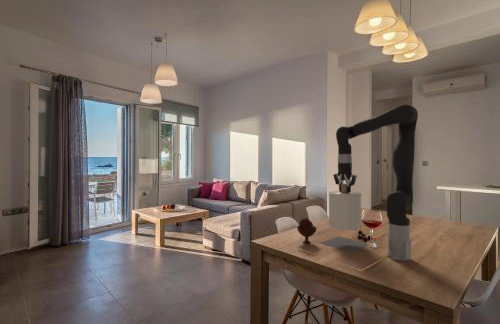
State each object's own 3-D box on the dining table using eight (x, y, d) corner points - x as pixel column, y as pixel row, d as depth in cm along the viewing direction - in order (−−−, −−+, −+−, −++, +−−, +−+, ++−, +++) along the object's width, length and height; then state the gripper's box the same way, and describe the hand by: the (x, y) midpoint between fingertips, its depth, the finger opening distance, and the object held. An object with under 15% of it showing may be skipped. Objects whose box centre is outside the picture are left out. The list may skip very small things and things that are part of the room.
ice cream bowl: (317, 247, 152) (317, 220, 151) (296, 246, 154) (296, 219, 154) (316, 241, 162) (316, 216, 162) (297, 240, 165) (297, 215, 164)
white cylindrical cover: (366, 226, 154) (367, 184, 154) (350, 232, 144) (350, 186, 143) (339, 220, 168) (339, 181, 167) (322, 225, 157) (322, 184, 156)
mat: (370, 245, 155) (370, 244, 155) (351, 253, 142) (351, 252, 142) (339, 236, 170) (339, 236, 170) (319, 243, 158) (319, 242, 157)
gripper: (360, 162, 151) (360, 193, 152) (337, 161, 162) (337, 190, 163) (352, 162, 147) (352, 194, 147) (330, 162, 158) (330, 191, 158)
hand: (344, 192), depth 155 cm, fingers closed on white cylindrical cover, 4 cm apart
